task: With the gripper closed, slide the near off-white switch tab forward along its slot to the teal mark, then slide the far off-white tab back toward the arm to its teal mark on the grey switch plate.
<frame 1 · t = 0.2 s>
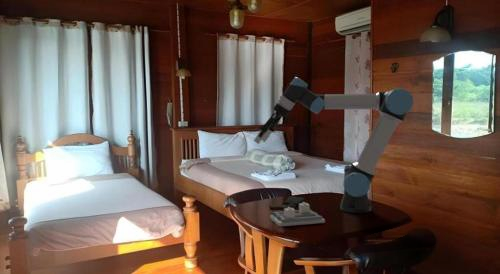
hand: (259, 141, 203), 35 cm above the table, tool tilted 35°, fingers open, 13 cm apart
switch plate: (296, 220, 188), on the table
tab b: (289, 213, 183), point 4 cm above the table, slide at 10.0 cm
tab a: (304, 208, 192), point 4 cm above the table, slide at 0.0 cm
firearm: (286, 205, 219), on the table
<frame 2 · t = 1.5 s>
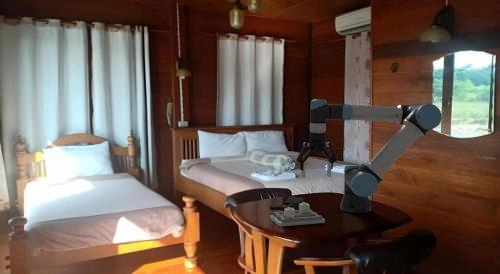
hand: (316, 176, 194), 19 cm above the table, tool pointing down, fingers open, 13 cm apart
nothing on the table moved.
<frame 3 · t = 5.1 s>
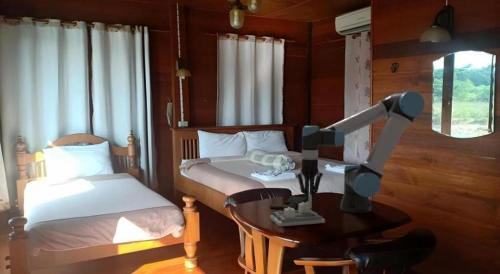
hand: (308, 207, 193), 5 cm above the table, tool pointing down, fingers closed
tab a: (303, 208, 192), point 4 cm above the table, slide at 0.3 cm, touching gripper
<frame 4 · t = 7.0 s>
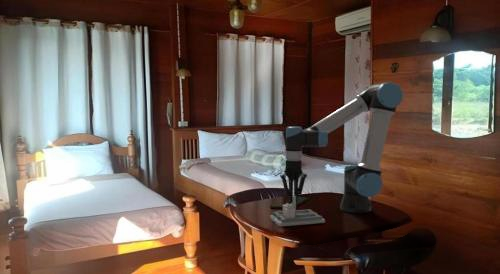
hand: (293, 209, 191), 4 cm above the table, tool pointing down, fingers closed
tab a: (287, 209, 190), point 4 cm above the table, slide at 8.2 cm, touching gripper
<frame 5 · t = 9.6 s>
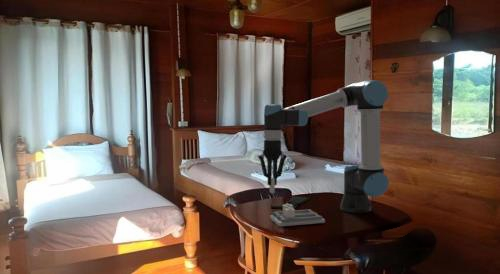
hand: (272, 192, 180), 15 cm above the table, tool pointing down, fingers closed
tab a: (287, 209, 190), point 4 cm above the table, slide at 8.2 cm
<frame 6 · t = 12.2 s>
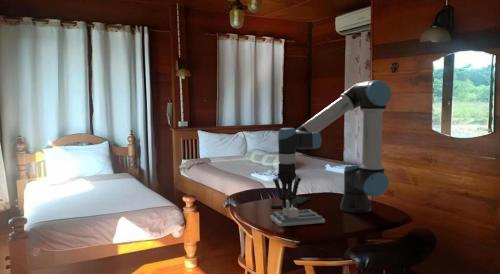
hand: (286, 214, 183), 4 cm above the table, tool pointing down, fingers closed
tab b: (292, 213, 184), point 4 cm above the table, slide at 8.5 cm, touching gripper
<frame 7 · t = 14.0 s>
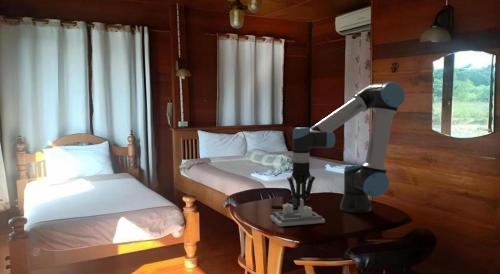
hand: (300, 213, 185), 4 cm above the table, tool pointing down, fingers closed
tab b: (306, 212, 185), point 4 cm above the table, slide at 1.8 cm, touching gripper
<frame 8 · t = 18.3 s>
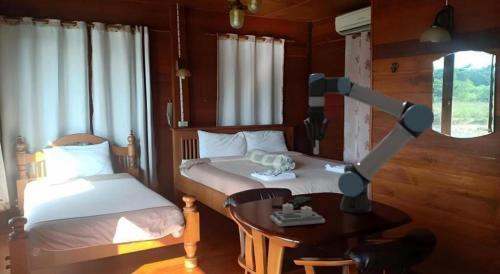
hand: (316, 153, 200), 29 cm above the table, tool pointing down, fingers closed
tab b: (306, 212, 185), point 4 cm above the table, slide at 1.8 cm
at the end: tab a slide at 8.2 cm; tab b slide at 1.8 cm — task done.
